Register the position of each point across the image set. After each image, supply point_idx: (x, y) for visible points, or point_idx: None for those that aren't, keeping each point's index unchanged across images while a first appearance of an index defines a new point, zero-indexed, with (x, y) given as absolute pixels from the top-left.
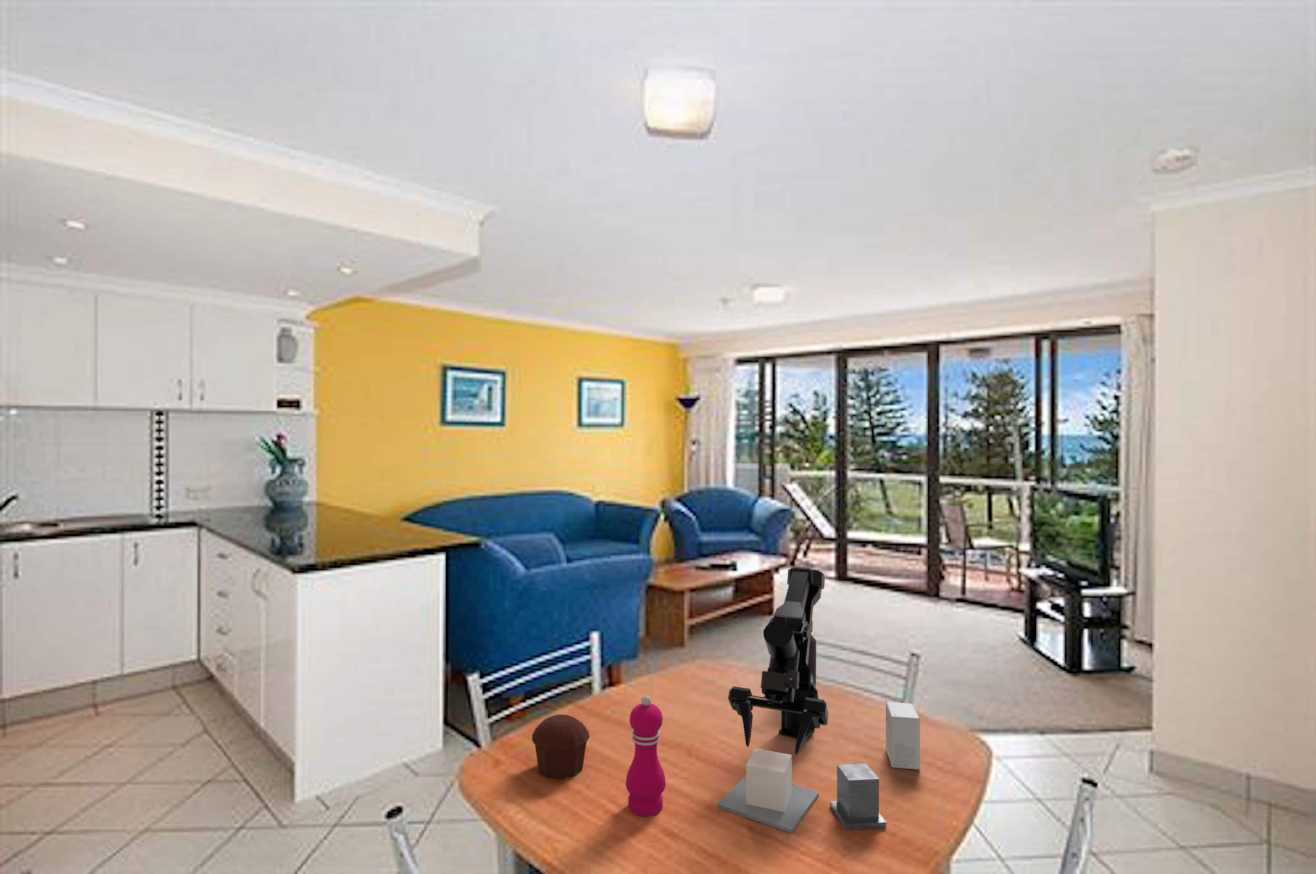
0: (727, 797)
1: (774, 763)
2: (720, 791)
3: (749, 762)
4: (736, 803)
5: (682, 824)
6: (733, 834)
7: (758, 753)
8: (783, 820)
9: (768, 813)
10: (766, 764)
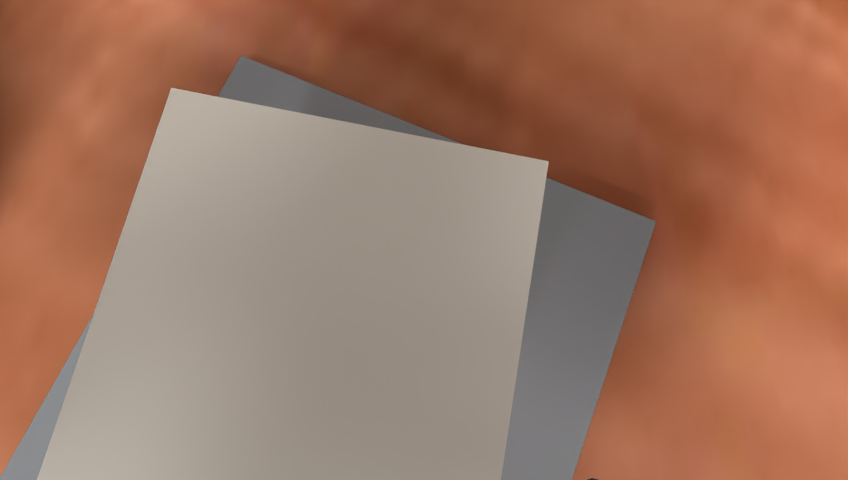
0: (611, 302)
1: (261, 247)
2: (663, 411)
3: (521, 222)
4: (548, 248)
5: (788, 54)
6: (532, 18)
7: (434, 447)
8: None
9: None
10: (346, 210)
